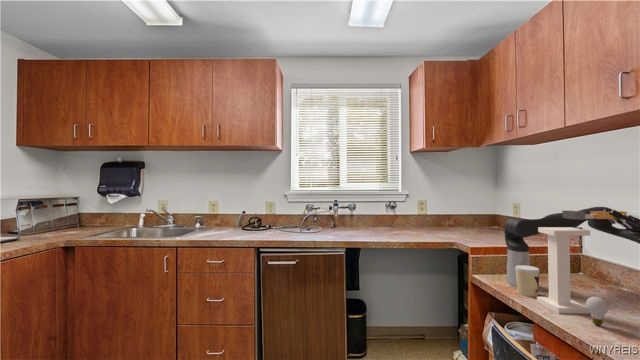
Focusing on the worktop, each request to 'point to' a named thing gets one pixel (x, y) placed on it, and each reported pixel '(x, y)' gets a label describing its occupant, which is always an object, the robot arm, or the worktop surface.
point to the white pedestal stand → (560, 270)
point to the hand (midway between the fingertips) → (608, 211)
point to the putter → (589, 215)
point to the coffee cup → (527, 280)
